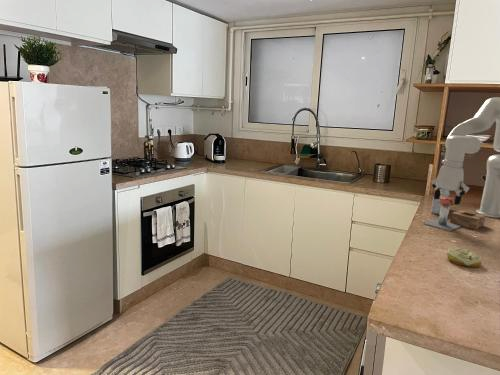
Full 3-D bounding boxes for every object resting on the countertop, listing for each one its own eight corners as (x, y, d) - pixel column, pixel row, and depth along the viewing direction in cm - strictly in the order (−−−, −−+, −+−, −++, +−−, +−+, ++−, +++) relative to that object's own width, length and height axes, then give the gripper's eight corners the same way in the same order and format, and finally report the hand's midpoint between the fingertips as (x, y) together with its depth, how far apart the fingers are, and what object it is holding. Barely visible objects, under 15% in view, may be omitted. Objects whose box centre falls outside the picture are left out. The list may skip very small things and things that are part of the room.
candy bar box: (431, 205, 213) (436, 176, 210) (441, 206, 212) (446, 177, 209) (437, 210, 203) (442, 180, 199) (447, 211, 202) (452, 181, 198)
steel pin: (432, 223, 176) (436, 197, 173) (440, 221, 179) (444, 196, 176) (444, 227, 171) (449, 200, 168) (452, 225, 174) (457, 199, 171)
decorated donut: (471, 271, 126) (473, 260, 125) (440, 259, 134) (441, 249, 133) (486, 265, 131) (488, 255, 131) (455, 254, 140) (457, 244, 139)
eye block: (458, 219, 187) (460, 209, 186) (483, 225, 179) (485, 215, 178) (449, 223, 180) (451, 213, 179) (475, 229, 172) (477, 219, 171)
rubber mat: (434, 220, 183) (434, 219, 183) (461, 226, 175) (461, 225, 175) (423, 224, 175) (423, 223, 175) (450, 231, 167) (450, 230, 167)
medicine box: (447, 213, 196) (450, 197, 195) (447, 216, 192) (450, 199, 191) (430, 211, 200) (433, 195, 198) (430, 213, 196) (433, 197, 194)
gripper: (430, 161, 174) (424, 197, 178) (467, 168, 160) (460, 207, 163) (439, 161, 178) (433, 196, 182) (477, 167, 164) (470, 205, 167)
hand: (446, 201), depth 173 cm, fingers open, 9 cm apart
